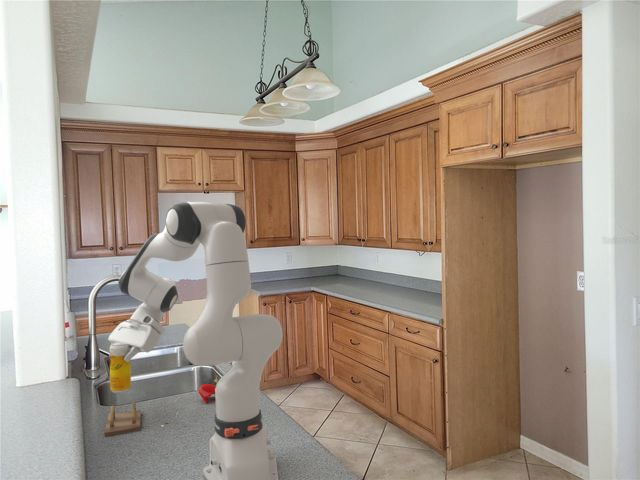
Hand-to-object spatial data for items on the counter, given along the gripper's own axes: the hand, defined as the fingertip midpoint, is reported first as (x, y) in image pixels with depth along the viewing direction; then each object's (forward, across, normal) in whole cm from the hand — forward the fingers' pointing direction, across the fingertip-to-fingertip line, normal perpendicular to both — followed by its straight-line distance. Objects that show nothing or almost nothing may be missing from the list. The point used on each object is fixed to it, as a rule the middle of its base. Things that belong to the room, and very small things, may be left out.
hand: (118, 359), depth 150 cm
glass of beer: (+7, 0, +7) cm, 10 cm away
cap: (-5, +9, +36) cm, 37 cm away
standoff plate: (+15, 0, +15) cm, 21 cm away
